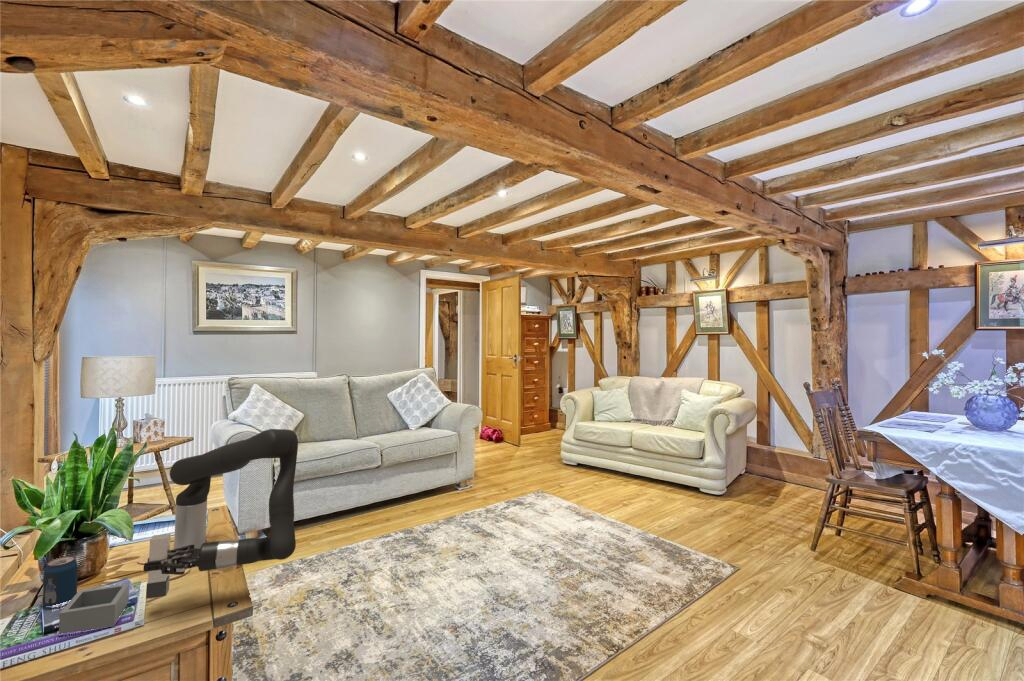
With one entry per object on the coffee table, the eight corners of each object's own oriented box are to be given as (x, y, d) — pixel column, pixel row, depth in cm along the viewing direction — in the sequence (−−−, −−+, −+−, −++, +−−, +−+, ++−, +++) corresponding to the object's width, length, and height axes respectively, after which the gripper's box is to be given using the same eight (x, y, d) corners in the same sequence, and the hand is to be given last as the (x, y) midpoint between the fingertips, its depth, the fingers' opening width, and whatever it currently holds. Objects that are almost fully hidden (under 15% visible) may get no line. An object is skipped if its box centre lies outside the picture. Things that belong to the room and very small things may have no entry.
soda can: (77, 593, 134) (79, 552, 134) (75, 604, 129) (77, 561, 129) (43, 601, 129) (45, 559, 129) (40, 613, 124) (42, 569, 124)
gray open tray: (78, 612, 125) (78, 590, 125) (128, 604, 129) (129, 583, 129) (58, 637, 115) (59, 613, 115) (114, 627, 120) (115, 604, 120)
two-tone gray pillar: (149, 592, 127) (152, 535, 127) (169, 589, 129) (171, 533, 129) (145, 598, 124) (148, 540, 124) (165, 595, 126) (168, 538, 126)
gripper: (224, 531, 139) (154, 539, 131) (216, 552, 126) (138, 562, 119) (223, 556, 139) (152, 565, 132) (215, 579, 126) (136, 591, 119)
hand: (146, 564), depth 125 cm, fingers closed on two-tone gray pillar, 3 cm apart
